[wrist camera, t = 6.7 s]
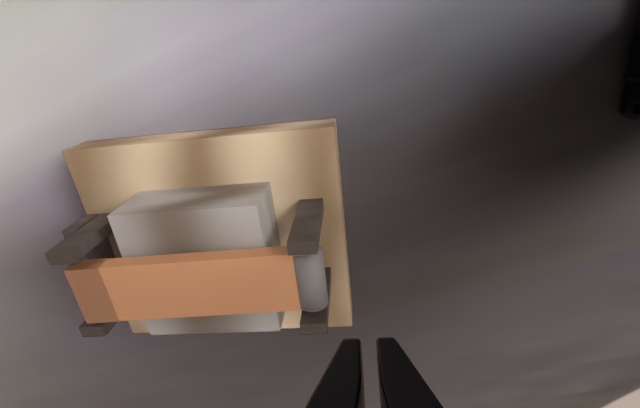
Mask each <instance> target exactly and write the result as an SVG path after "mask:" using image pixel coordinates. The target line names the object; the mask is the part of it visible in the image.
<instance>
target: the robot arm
mask: <svg viewBox="0 0 640 408" xmlns="http://www.w3.org/2000/svg"><path fill="white" fill-rule="evenodd" d="M625 76H626V83H625V88H624V93H623V97H622V102H621V107H620V113H621V115H622V116H624V117H625V118H629V119H640V16H639V18H638V19H637V21H636V26H635V30H634V35H633V40H632V45H631V50H630V55H629V60H628V64H627V69H626V74H625ZM635 104H637V108H636V110H635V111H634V112H631V109H632V107H633V106H634V105H635ZM376 346H377V362H378V377H379V389H380V402H381V408H443V406H442V405H441V404H440V402H439V401H438V399H437V398H436V396H435V395H434V394H433V392H432V391H431V389H430V388H429V386H428V385H427V384H426V382H425V381H424V379H423V378H422V376H421V375H420V374H419V372H418V371H417V369H416V368H415V367H414V365H413V364H412V362H411V361H410V359H409V358H408V357H407V355H406V354H405V352H404V351H403V349H402V348H401V347H400V345H399V344H398V342H397V341H396V340H395V339H394V338H392V337H390V338H378V339H377V340H376ZM305 408H365V398H364V379H363V363H362V351H361V341H360V339H357V338H355V339H343V340H342V341H341V343H340V345H339V347H338V348H337V350H336V352H335V354H334V356H333V358H332V359H331V361H330V363H329V365H328V367H327V369H326V370H325V372H324V374H323V376H322V378H321V380H320V381H319V383H318V385H317V387H316V389H315V390H314V392H313V394H312V396H311V398H310V400H309V401H308V403H307V405H306V407H305Z"/></svg>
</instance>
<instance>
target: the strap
mask: <svg viewBox="0 0 640 408" xmlns="http://www.w3.org/2000/svg"><path fill="white" fill-rule="evenodd" d="M64 274H65V276H66V278H67V280H68V283H69V285H70V287H71V289H72V292H73V294H74V296H75V298H76V301H77V303H78V305H79V307H80V309H81V312H82V314H83V316H84V318H85V321H86V323H87V324H90V323H107V322H119V321H129V320H146V319H164V318H181V317H198V316H215V315H232V314H249V313H266V312H283V311H300V310H303V311H306V312H318V311H321V310H323V309H324V308H325V307H326V306H327V305H328V302H329V301H328V292H327V284H326V275H325V267H324V258H323V250H322V247H321V246H320V245H319V246H318V253H317V254H311V255H292V256H288V250H287V246H276V247H262V248H248V249H235V250H221V251H207V252H193V253H179V254H166V255H152V256H138V257H124V258H111V259H108V258H103V259H90V260H78V261H77V262H76V263H75V264H71V265H70V266H69V267H68V268H67V269H66V270H64Z"/></svg>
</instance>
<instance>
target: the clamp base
mask: <svg viewBox="0 0 640 408" xmlns="http://www.w3.org/2000/svg"><path fill="white" fill-rule="evenodd" d="M62 153H63V155H64V158H65V160H66V163H67V165H68V168H69V171H70V173H71V176H72V178H73V181H74V183H75V186H76V189H77V191H78V194H79V196H80V199H81V201H82V204H83V207H84V209H85V212H86V214H87V215H86V216H84V217H83V218H81V219H80V220H78V221H77V222H75V223H74V224H72V225H71V226H69V227H68V228H66V229H65V230H63V231H62V233H63V235H64V238H65V240H63V241H62V242H60V243H59V244H58V245H56V246H55V247H53V248H52V249H50V250H49V251H48V252H46V253H45V255H46V257H47V259H48V262H49V264H50V265H58V264H75V263H76V262H77V261H78V260H90V259H103V258H108V259H111V258H124V257H138V256H152V255H166V254H179V253H193V252H207V251H221V250H235V249H248V248H262V247H276V246H287V250H288V256H292V255H311V254H317V253H318V246H319V245H320V246H321V247H322V250H323V258H324V267H325V275H326V284H327V292H328V301H329V302H328V305H327V306H326V307H325V308H324V309H323V310H321V311H318V312H306V311H303V310H300V311H283V312H266V313H249V314H232V315H215V316H198V317H181V318H164V319H146V320H129V321H128V322H129V325H130V328H131V330H132V333H150V335H169V334H201V333H233V332H265V331H280V330H281V328H300V330H301V335H308V334H327V332H328V327H340V326H352V298H351V286H350V275H349V264H348V253H347V241H346V230H345V219H344V207H343V196H342V185H341V173H340V162H339V151H338V139H337V128H336V118H333V119H322V120H311V121H301V122H290V123H279V124H268V125H257V126H246V127H236V128H225V129H214V130H203V131H192V132H182V133H171V134H160V135H149V136H138V137H127V138H117V139H106V140H95V141H86V142H84V143H81V144H79V145H76V146H73V147H71V148H68V149H66V150H63V151H62ZM116 323H117V322H107V323H90V324H87V323H86V321H84V322H83V323H82V324H81V325H80V326H79V329H80V331H81V334H82V336H83V337H95V336H106V335H107V334H108V333H109V331H110V330H111V329H112V328H113V326H114V325H115V324H116Z"/></svg>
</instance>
